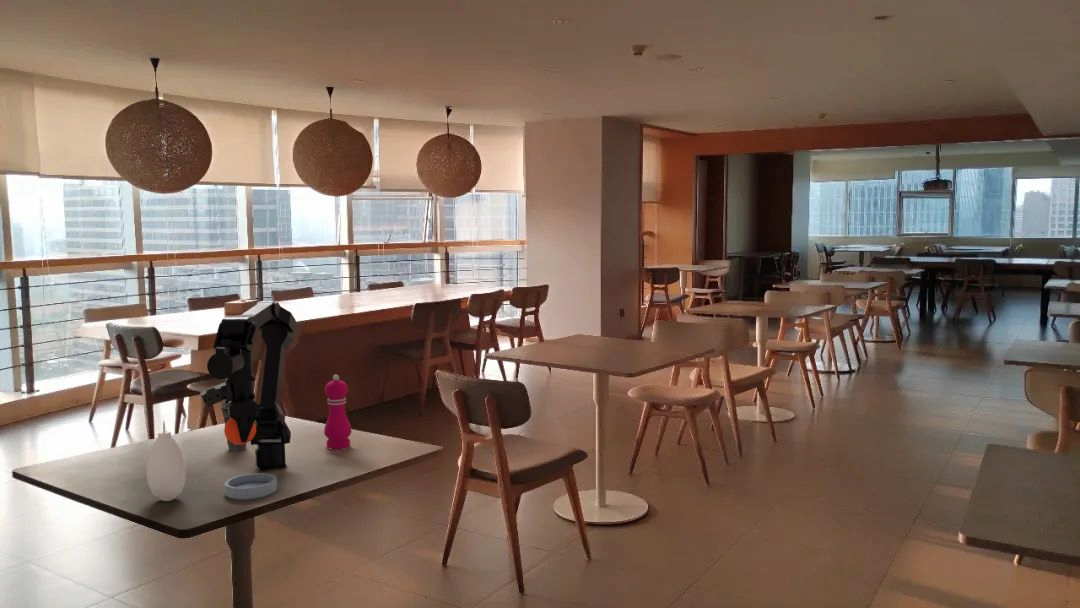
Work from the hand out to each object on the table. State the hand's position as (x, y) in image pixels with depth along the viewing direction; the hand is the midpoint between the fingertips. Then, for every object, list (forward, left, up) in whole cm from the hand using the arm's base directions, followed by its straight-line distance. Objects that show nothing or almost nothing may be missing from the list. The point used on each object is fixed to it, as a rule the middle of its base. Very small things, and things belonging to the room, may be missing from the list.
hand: (242, 438), depth 188 cm
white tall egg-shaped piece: (+16, 0, -12) cm, 20 cm away
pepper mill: (-27, -26, -12) cm, 39 cm away
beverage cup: (-2, -37, -12) cm, 39 cm away
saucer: (-1, +3, -12) cm, 12 cm away
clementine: (0, 0, -2) cm, 2 cm away
